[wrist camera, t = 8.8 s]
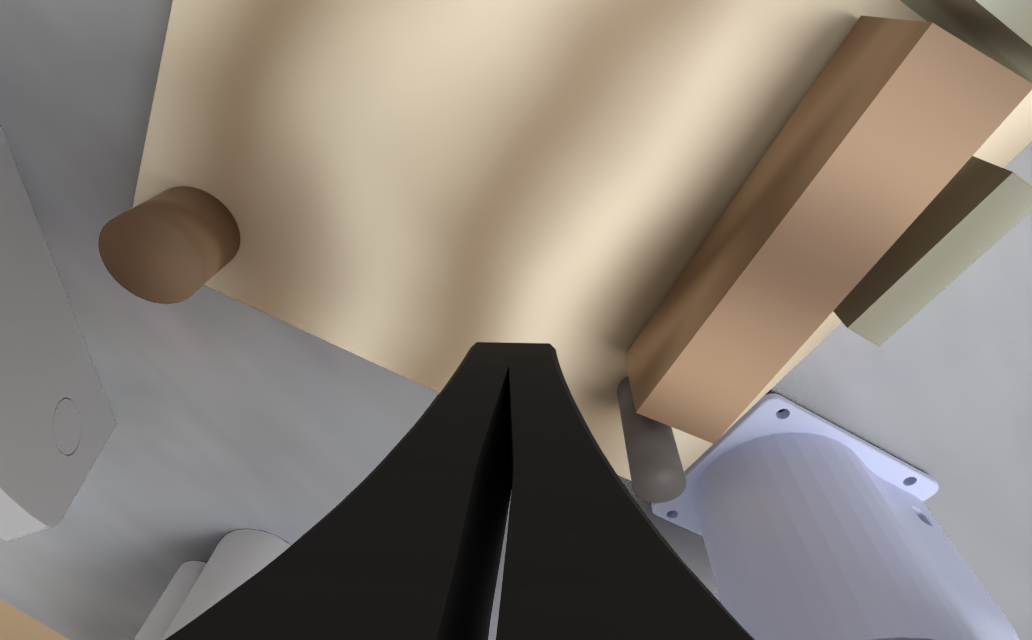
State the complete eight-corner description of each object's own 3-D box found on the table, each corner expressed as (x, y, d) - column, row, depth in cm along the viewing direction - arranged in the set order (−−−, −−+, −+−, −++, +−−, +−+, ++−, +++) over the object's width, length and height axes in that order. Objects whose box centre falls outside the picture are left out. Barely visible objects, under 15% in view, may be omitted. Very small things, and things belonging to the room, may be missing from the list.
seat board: (1177, -54, 14) (1534, -77, 9) (654, 467, 25) (682, 595, 19) (383, -819, 9) (187, -1780, 4) (151, 230, 20) (13, 317, 15)
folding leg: (692, 384, 20) (713, 444, 17) (624, 356, 19) (636, 412, 17) (948, 67, 14) (1035, 85, 12) (861, 15, 14) (932, 23, 11)
